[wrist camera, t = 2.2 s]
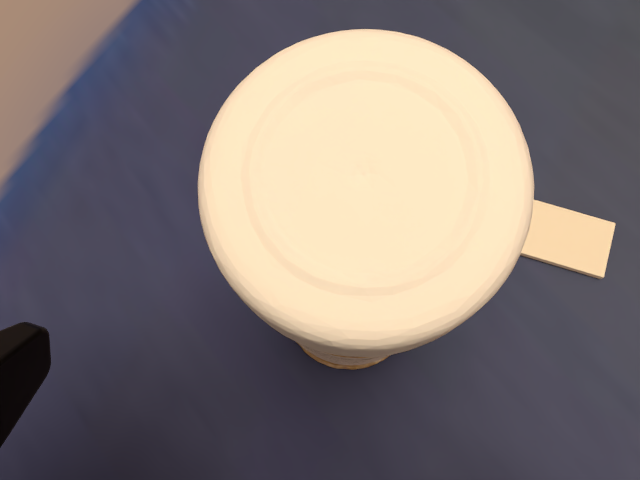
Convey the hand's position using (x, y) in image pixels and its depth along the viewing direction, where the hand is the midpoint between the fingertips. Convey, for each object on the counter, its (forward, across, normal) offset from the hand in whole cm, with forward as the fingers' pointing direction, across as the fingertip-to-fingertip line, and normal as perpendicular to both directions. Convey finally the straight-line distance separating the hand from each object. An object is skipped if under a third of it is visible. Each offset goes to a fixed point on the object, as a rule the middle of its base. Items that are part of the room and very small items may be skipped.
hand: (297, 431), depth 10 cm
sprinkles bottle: (+10, 0, +5) cm, 11 cm away
